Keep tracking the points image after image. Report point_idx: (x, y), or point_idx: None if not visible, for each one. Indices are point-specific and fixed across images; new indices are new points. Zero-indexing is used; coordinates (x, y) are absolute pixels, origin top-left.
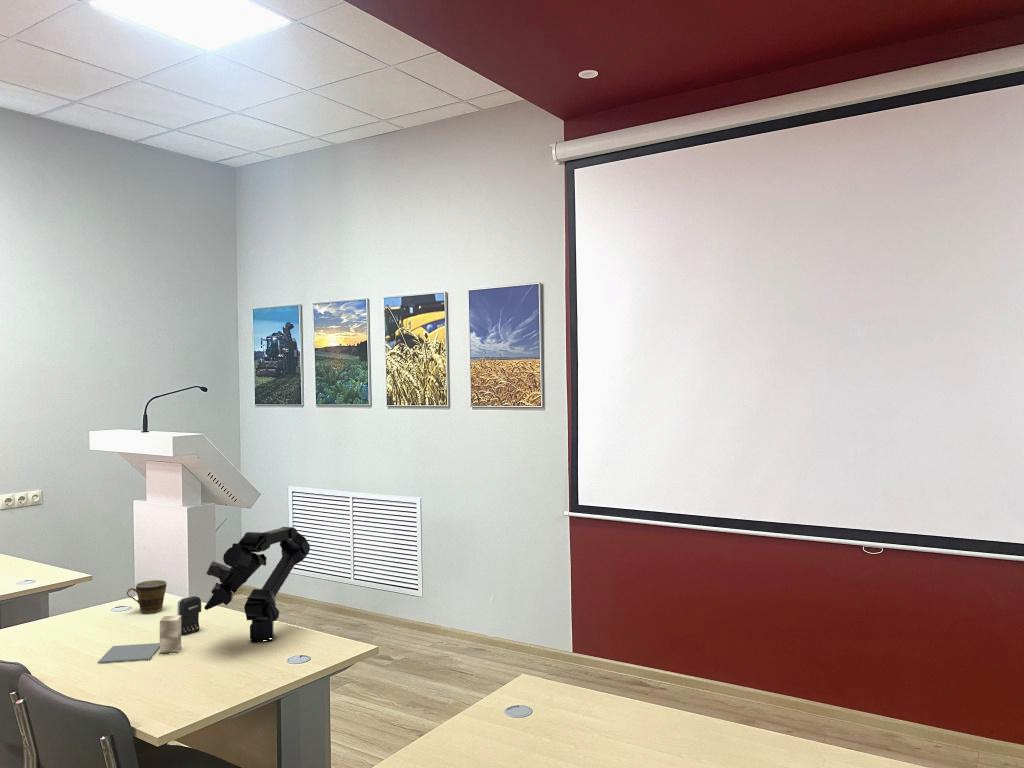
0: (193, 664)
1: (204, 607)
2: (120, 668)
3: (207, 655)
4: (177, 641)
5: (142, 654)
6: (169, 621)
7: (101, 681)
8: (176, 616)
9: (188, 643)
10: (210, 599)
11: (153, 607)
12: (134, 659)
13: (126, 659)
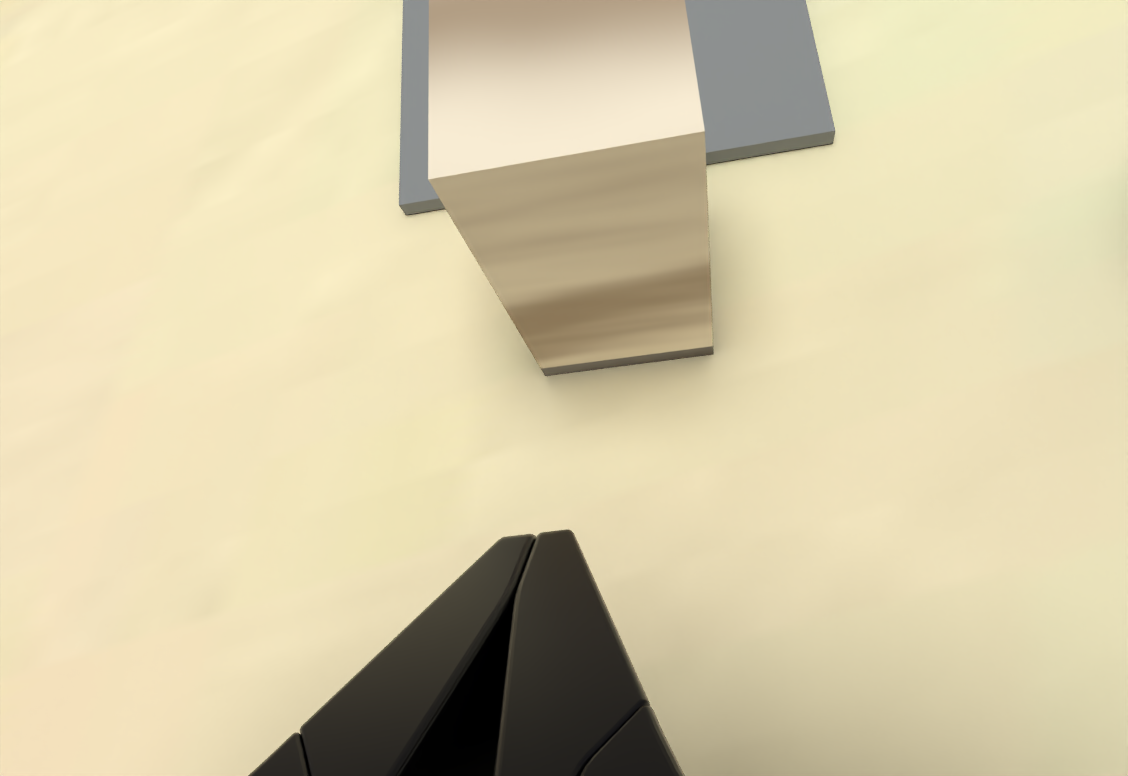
0: (192, 632)
1: (493, 547)
2: (275, 92)
3: None
4: (516, 325)
5: None
6: (433, 92)
7: (65, 93)
8: (637, 89)
9: (870, 377)
10: (282, 759)
11: None
12: (401, 104)
13: (407, 52)
